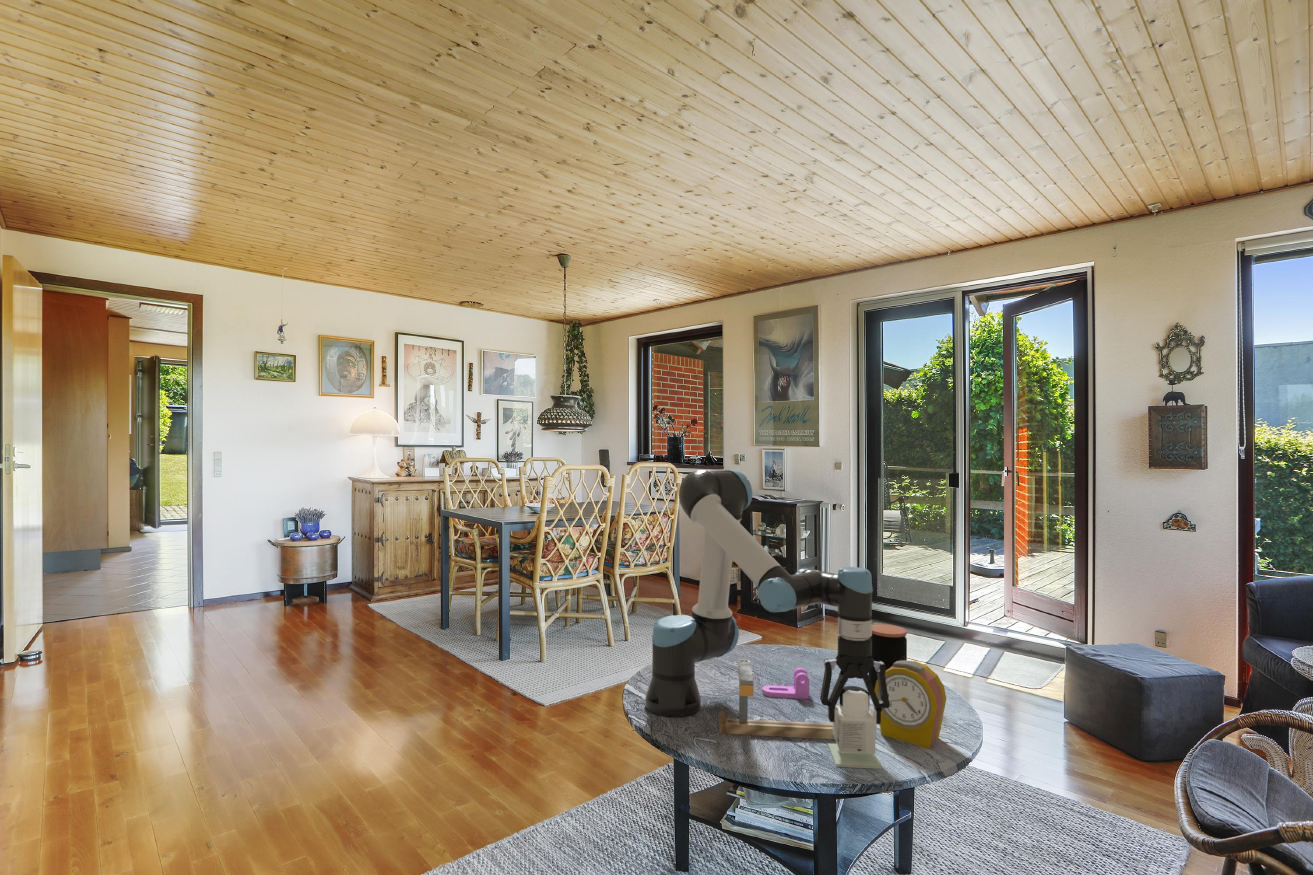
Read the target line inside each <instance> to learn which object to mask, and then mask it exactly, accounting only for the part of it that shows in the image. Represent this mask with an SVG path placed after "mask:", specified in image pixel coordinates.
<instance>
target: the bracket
mask: <svg viewBox="0 0 1313 875" xmlns="http://www.w3.org/2000/svg"><path fill="white" fill-rule="evenodd" d="M761 694H763V695H764V696H765V697H771V698H783V699H784V698H786V699H788V698H789V699H803V700H805V699H806V700H810V678H809V676H808V673H807V670H806V669H805V668H803V667H797V668H795V670H794V672H793V685H792V686H791V685H790V686H787V685H775V684H774V685H773V684H772V685H771V684H769V685H764V686H762V688H761Z"/></svg>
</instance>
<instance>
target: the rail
mask: <svg viewBox="0 0 1313 875" xmlns="http://www.w3.org/2000/svg"><path fill="white" fill-rule="evenodd" d="M719 734H724V735H725V734H726V735H728V734H729V735H749V736H750V735H751V736H766V737H769V736H770V737H786V738H787V737H788V738H803V739H804V738H805V739H810V738H811V739H823V740H824V739H826V740H827V739H829V740H835V738H834V735H833V723H831V722H830V723H828V722H827V723H826V722H810V721H809V722H808V721H807V722H804V721H789V720H788V721H786V720H769V719H768V720H765V719H748V718H747V722H739V718H727V712H726V711H719Z"/></svg>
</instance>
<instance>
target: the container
mask: <svg viewBox="0 0 1313 875" xmlns="http://www.w3.org/2000/svg"><path fill="white" fill-rule="evenodd" d="M836 706H837V708H838V738H835V737H834V738H835V739H834V740H835V744H837V745H838V748H839V750H840V752H841V753H854V754H871V755H874V754H876V740H875V719H874V717H873V716H872V714H871V712H870V695H869V693H868V690H867V689H865V688H863V687H860V686H857V685H848V686H847V685H846V686H844V688H843V690H842V692H841V695H840V697H839V705H837V704H836Z"/></svg>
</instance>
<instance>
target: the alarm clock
mask: <svg viewBox="0 0 1313 875" xmlns="http://www.w3.org/2000/svg"><path fill="white" fill-rule="evenodd" d="M938 675H939V674H937V673H936V672H935V671H934V670H932V669H931V668H930V667H929V666H927V665H926V664H923V663H921V662H919V661H916V660H907V661H906V660H901V661H896V662H895V663H894V664H893V666H892V667H891V668H889V669H888V670H886V671H885V679H886V686H887V692H888V698H889V705H890V706H889V708H883V709H882V711H881V723H880V724H879V729H880V735H881V736H886V737H888V738H891V739H895V740H898V741H899V740H900V741H902V742H905V743H908V744H912V745H914V746H915V745H916V746H918V745H919V746H918V747H923V748H925V747H926V749H928V748H929V749H930V748H931V747H932V746H933V745H934V744H935V743H936V742H937V741H938V740H939V738H940V733H941V728H942V723H943V717H944V713H945V708H946V703H947V702H946V701H947V695H946V694H947V693H946V689H945V685H944V683H943V682H942V680H941V678H940V677H939V676H938ZM874 691H875V693H876V696H877V698H878V700H879V701H881V696H880V690H879V683H878V680H877V681H876V686H875V690H874ZM936 740H937V741H936ZM935 741H936V742H935ZM934 742H935V743H934ZM933 743H934V744H933Z"/></svg>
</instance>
